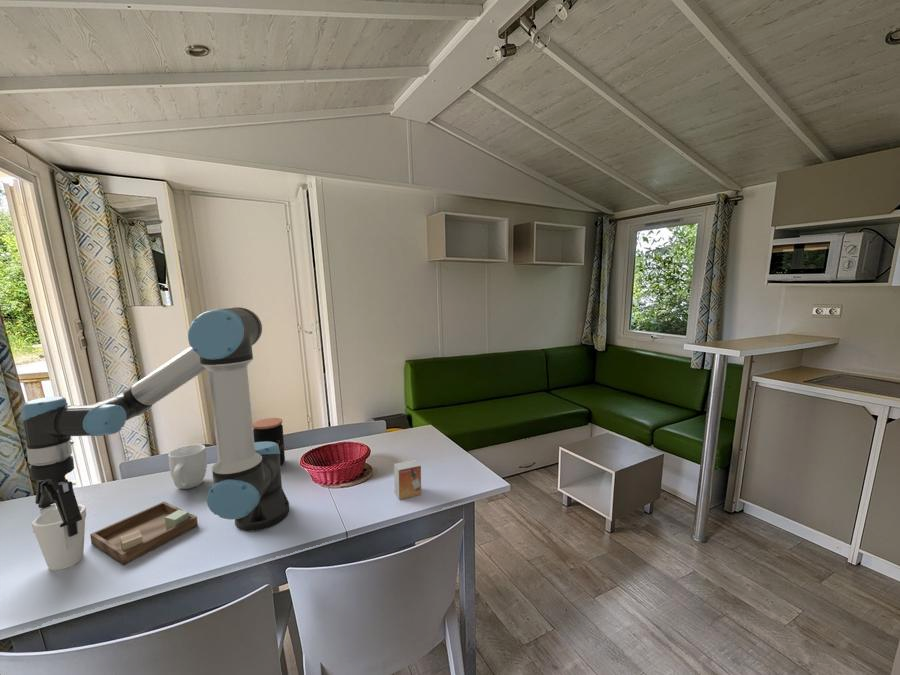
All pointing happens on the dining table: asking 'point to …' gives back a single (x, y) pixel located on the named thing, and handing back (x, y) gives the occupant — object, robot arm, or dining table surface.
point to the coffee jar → (270, 433)
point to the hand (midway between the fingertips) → (61, 538)
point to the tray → (150, 528)
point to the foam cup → (58, 539)
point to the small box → (407, 479)
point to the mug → (188, 465)
